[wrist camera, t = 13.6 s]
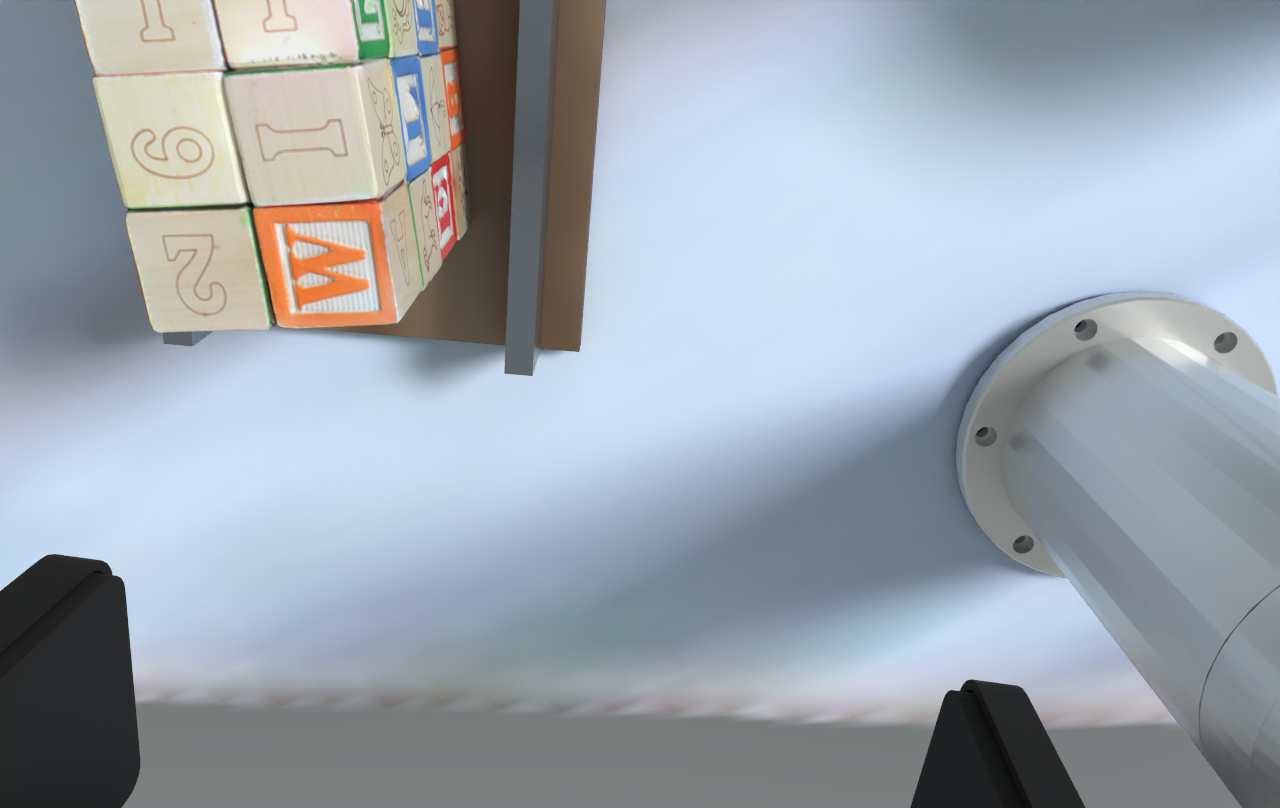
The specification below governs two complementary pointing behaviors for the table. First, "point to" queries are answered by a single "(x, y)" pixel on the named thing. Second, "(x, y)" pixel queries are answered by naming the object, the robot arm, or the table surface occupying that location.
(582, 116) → the track
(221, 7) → the stack of blocks
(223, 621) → the table surface
